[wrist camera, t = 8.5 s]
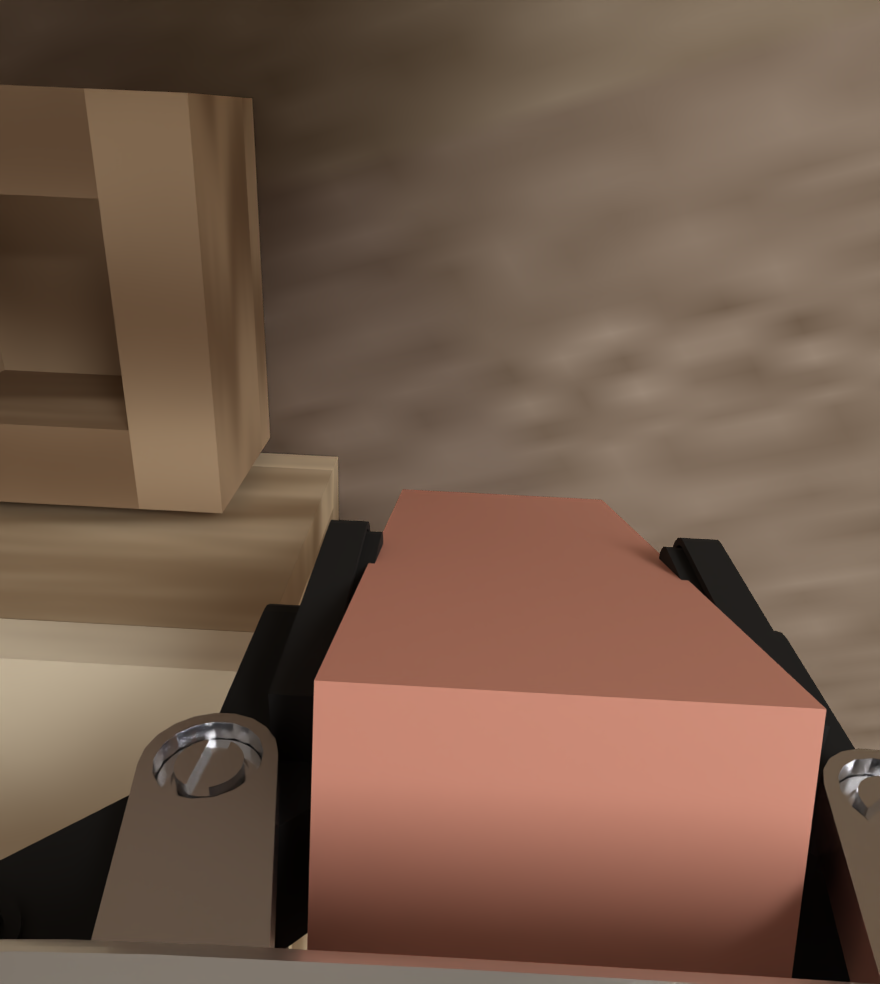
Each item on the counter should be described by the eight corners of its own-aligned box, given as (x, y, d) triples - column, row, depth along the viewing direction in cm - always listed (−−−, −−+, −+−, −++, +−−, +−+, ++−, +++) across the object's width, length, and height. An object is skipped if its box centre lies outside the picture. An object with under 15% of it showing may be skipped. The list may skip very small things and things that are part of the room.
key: (402, 489, 16) (313, 680, 6) (601, 499, 16) (826, 707, 6) (394, 678, 17) (303, 1121, 7) (586, 688, 17) (769, 1152, 7)
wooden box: (-186, 79, 20) (-635, 53, 12) (332, 101, 20) (235, 91, 12) (25, 895, 33) (-125, 1155, 24) (344, 915, 32) (301, 1183, 24)
